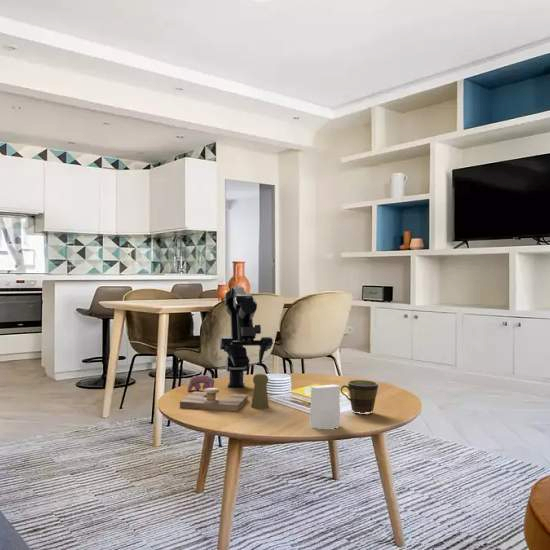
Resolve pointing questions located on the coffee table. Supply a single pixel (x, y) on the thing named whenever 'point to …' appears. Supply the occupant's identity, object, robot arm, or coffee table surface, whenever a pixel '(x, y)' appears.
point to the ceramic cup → (362, 395)
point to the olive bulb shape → (260, 392)
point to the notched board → (213, 401)
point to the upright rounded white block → (325, 406)
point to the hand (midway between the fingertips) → (247, 365)
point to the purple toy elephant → (201, 379)
